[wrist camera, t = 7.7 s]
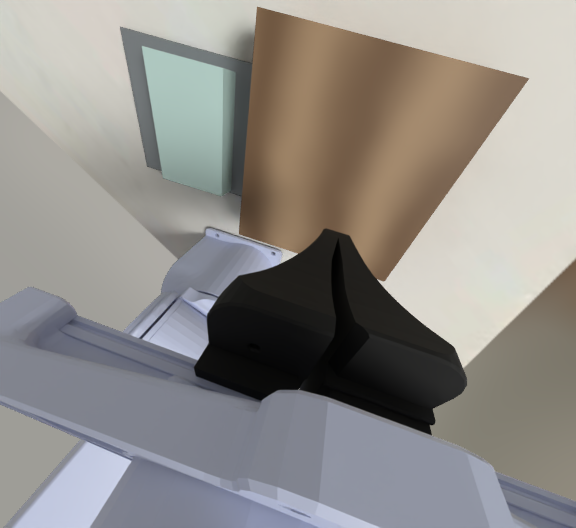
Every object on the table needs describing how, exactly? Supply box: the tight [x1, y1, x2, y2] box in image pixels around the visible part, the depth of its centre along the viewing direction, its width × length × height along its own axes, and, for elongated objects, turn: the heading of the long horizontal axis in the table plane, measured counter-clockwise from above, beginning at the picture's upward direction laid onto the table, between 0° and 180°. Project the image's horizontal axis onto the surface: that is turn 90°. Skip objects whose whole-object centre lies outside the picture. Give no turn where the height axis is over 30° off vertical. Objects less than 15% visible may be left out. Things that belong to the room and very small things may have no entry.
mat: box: [120, 27, 252, 196], centre depth 18 cm, size 12×10×1 cm
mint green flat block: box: [142, 46, 236, 196], centre depth 18 cm, size 6×9×2 cm, turn 168°
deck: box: [239, 7, 529, 281], centre depth 16 cm, size 14×14×4 cm
